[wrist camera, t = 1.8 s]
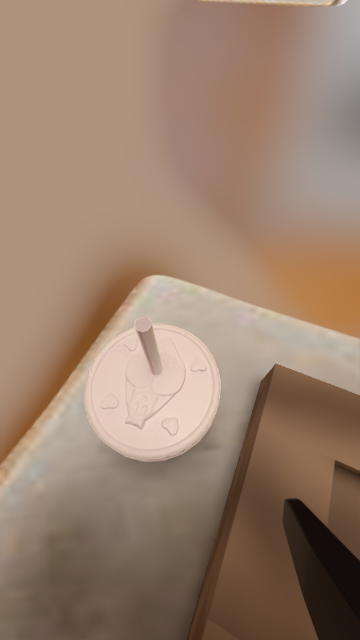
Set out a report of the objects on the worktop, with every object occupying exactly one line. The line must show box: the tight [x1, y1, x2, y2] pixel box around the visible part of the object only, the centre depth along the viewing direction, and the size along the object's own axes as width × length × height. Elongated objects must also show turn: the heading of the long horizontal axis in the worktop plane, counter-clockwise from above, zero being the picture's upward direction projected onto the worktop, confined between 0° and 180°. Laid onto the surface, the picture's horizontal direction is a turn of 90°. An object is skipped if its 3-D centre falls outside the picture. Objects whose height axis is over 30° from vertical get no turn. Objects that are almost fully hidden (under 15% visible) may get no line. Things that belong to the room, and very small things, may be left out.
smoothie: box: [84, 317, 221, 462], centre depth 14 cm, size 6×6×14 cm
